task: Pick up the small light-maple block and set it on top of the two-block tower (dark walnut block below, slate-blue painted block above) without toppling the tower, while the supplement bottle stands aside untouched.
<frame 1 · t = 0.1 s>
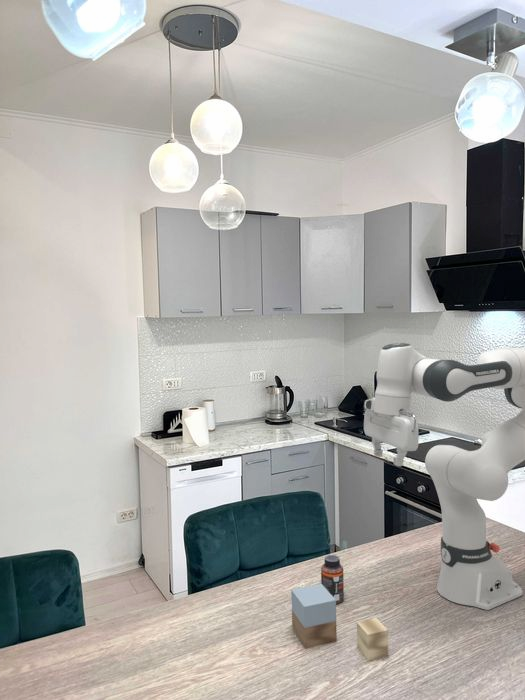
hand: (387, 460, 131), 39 cm above the table, tool pointing down, fingers open, 8 cm apart
tower top: (313, 615, 123), point 5 cm above the table, touching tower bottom
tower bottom: (314, 635, 123), on the table, touching tower top
supplement bottle: (332, 599, 139), on the table
maple block: (372, 651, 116), on the table
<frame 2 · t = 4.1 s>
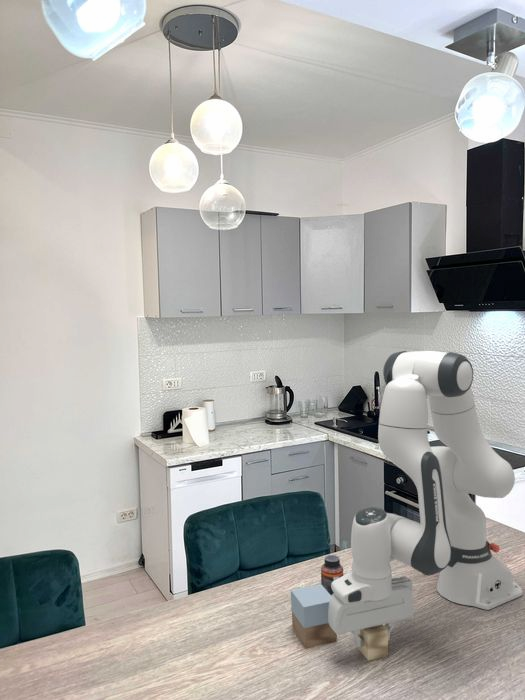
hand: (372, 642, 116), 2 cm above the table, tool pointing down, fingers closed on maple block, 5 cm apart
maple block: (372, 651, 116), on the table, touching gripper
everything else where it was.
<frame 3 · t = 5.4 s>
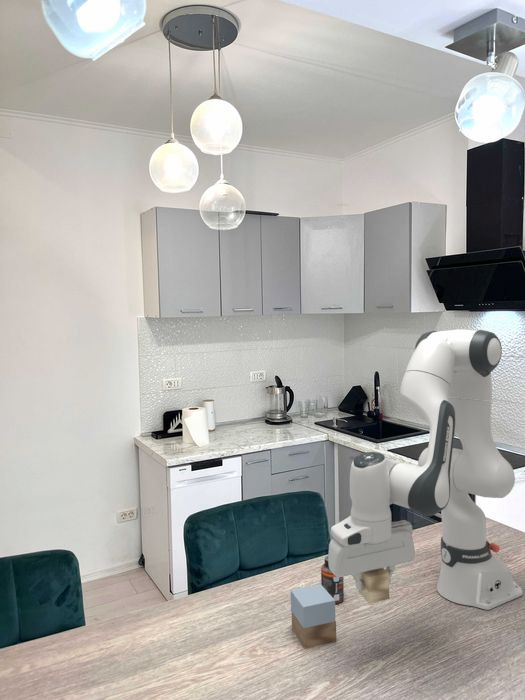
hand: (373, 586, 116), 15 cm above the table, tool pointing down, fingers closed on maple block, 5 cm apart
maple block: (373, 595, 116), point 13 cm above the table, touching gripper
everything else where it was.
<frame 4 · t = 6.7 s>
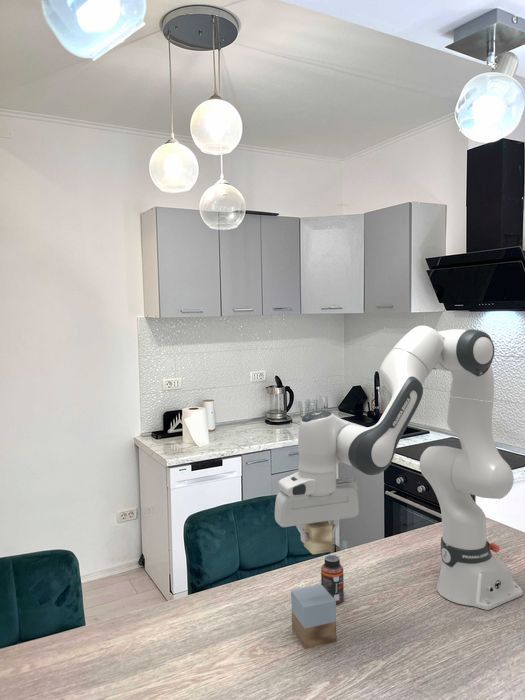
hand: (317, 539, 121), 24 cm above the table, tool pointing down, fingers closed on maple block, 5 cm apart
maple block: (317, 548, 121), point 22 cm above the table, touching gripper
everything else where it was.
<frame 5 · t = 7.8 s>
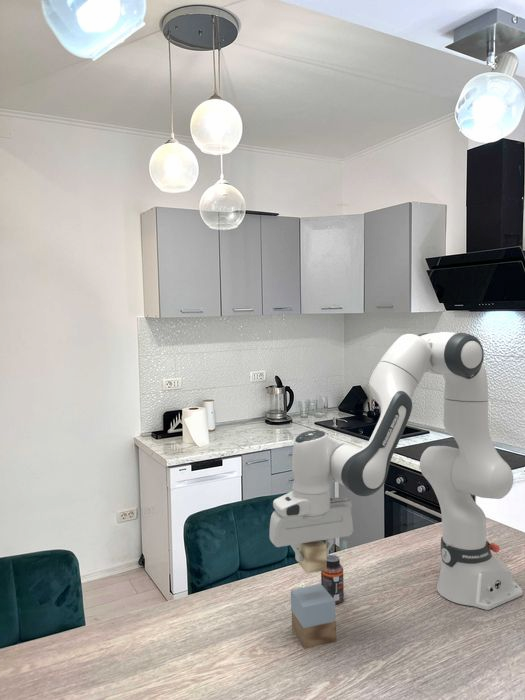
hand: (312, 558, 122), 19 cm above the table, tool pointing down, fingers closed on maple block, 5 cm apart
tower top: (312, 615, 123), point 5 cm above the table
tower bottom: (313, 635, 123), on the table
maple block: (312, 567, 122), point 17 cm above the table, touching gripper
everything else where it was.
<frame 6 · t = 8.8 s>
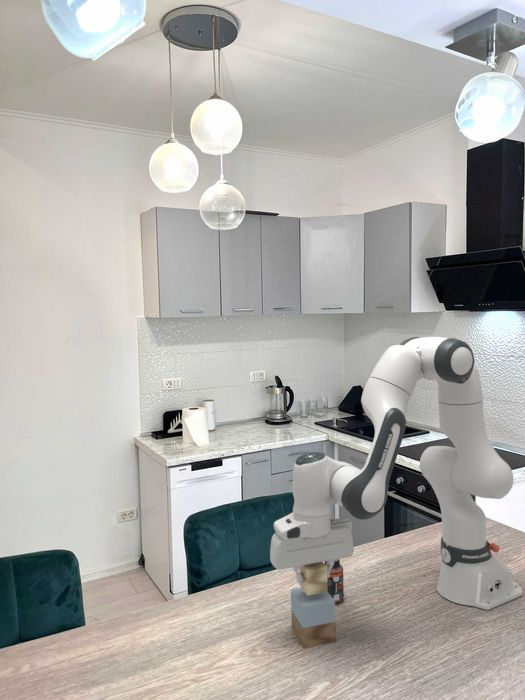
hand: (313, 579, 122), 14 cm above the table, tool pointing down, fingers closed on maple block, 5 cm apart
tower top: (312, 615, 123), point 5 cm above the table, touching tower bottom
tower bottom: (313, 635, 123), on the table, touching tower top
maple block: (313, 588, 122), point 12 cm above the table, touching gripper
everything else where it was.
when the fingers open (14 cm above the table, at t = 9.5 s): maple block drops 2 cm, resting on tower top.
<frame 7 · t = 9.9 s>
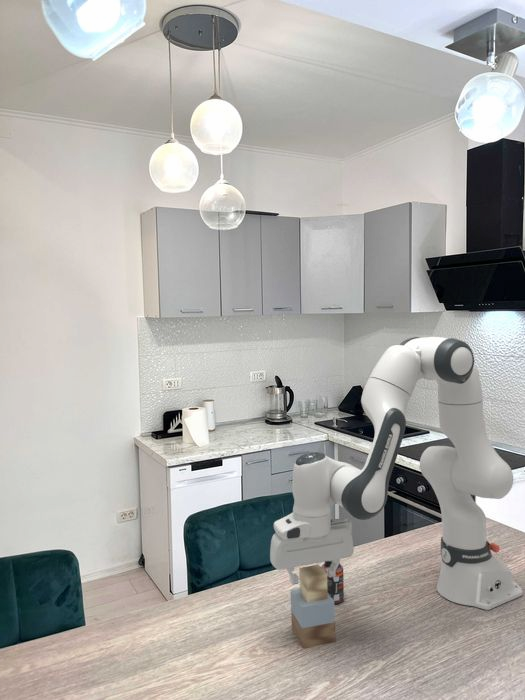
hand: (313, 579, 122), 14 cm above the table, tool pointing down, fingers open, 8 cm apart
tower top: (312, 615, 123), point 5 cm above the table, touching maple block, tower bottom
maple block: (313, 595, 122), point 10 cm above the table, touching tower top
everything else where it was.
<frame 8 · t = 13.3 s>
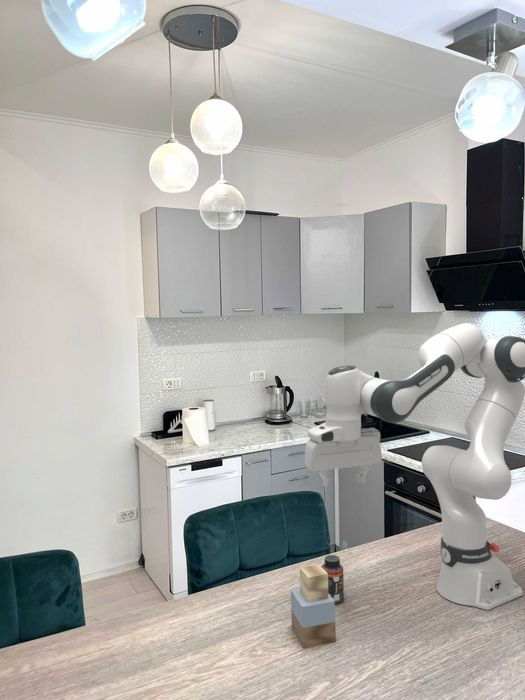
hand: (344, 484, 131), 33 cm above the table, tool pointing down, fingers open, 8 cm apart
nothing on the table moved.
at the end: maple block inside the target area on the tower top (0.4 cm from its centre), point 5.0 cm above the tower top's base; maple block tilted 0°; tower top tilted 0° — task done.
